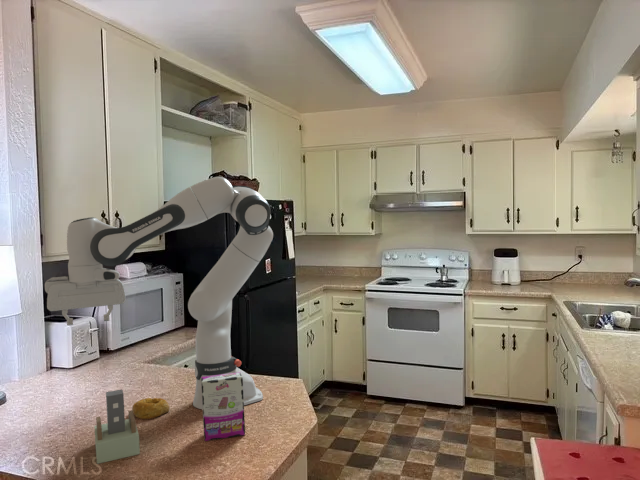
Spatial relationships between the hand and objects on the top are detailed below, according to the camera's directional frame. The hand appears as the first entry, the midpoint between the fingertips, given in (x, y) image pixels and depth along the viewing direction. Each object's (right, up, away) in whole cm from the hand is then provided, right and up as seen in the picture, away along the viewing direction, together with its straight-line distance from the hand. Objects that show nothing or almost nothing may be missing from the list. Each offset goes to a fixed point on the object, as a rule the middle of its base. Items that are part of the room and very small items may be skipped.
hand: (88, 322), depth 138 cm
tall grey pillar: (+13, -26, -12) cm, 31 cm away
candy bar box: (+40, -30, -5) cm, 50 cm away
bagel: (+14, -31, +12) cm, 35 cm away
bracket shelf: (+13, -31, -11) cm, 36 cm away
